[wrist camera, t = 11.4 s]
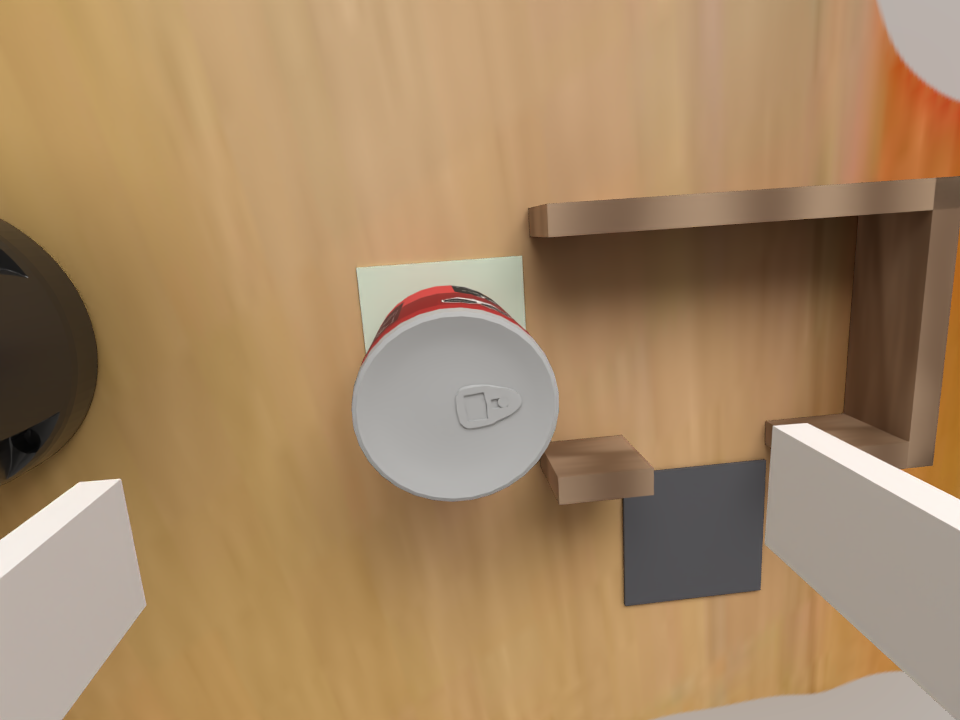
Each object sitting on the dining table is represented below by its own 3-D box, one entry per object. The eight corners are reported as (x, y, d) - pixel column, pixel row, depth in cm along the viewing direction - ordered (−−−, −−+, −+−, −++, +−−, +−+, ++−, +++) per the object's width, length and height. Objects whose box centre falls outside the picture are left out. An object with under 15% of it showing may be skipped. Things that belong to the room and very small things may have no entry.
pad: (376, 442, 33) (376, 443, 33) (356, 267, 31) (356, 267, 31) (530, 427, 34) (530, 428, 34) (521, 255, 32) (521, 255, 32)
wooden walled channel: (540, 466, 35) (559, 504, 30) (528, 208, 31) (547, 204, 27) (864, 434, 36) (932, 465, 31) (885, 184, 33) (965, 175, 28)
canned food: (537, 381, 33) (590, 452, 23) (411, 439, 33) (405, 537, 23) (483, 258, 32) (513, 272, 21) (350, 320, 32) (312, 365, 21)
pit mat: (624, 603, 37) (625, 606, 37) (622, 473, 35) (623, 475, 35) (758, 588, 38) (760, 589, 38) (764, 459, 36) (766, 460, 36)
